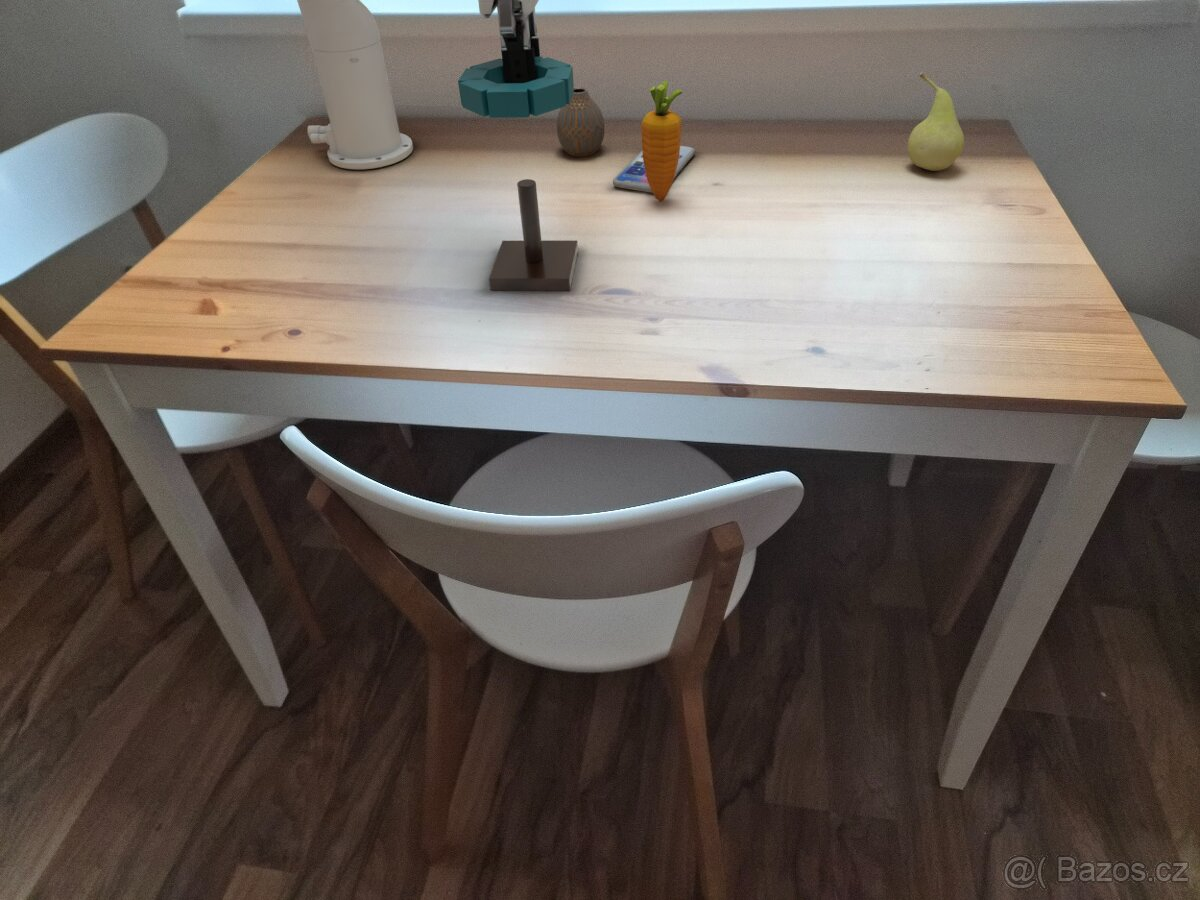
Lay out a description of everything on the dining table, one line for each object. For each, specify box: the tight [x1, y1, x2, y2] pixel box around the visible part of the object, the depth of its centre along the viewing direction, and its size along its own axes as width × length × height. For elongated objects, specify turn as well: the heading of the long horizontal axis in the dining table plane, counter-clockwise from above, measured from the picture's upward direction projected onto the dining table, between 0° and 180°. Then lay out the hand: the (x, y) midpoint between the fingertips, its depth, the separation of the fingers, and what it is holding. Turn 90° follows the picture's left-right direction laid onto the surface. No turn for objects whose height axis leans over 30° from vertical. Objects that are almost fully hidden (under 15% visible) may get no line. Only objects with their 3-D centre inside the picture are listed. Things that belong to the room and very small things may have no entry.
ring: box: [457, 55, 575, 119], centre depth 80 cm, size 11×11×2 cm
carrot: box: [640, 80, 683, 203], centre depth 100 cm, size 5×5×15 cm
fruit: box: [906, 71, 965, 172], centre depth 106 cm, size 7×8×12 cm
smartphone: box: [612, 145, 696, 194], centre depth 113 cm, size 7×1×15 cm
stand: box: [488, 178, 579, 292], centre depth 90 cm, size 9×9×10 cm
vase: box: [556, 87, 605, 158], centre depth 116 cm, size 7×7×9 cm
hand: (524, 83), depth 84 cm, fingers closed on ring, 2 cm apart
